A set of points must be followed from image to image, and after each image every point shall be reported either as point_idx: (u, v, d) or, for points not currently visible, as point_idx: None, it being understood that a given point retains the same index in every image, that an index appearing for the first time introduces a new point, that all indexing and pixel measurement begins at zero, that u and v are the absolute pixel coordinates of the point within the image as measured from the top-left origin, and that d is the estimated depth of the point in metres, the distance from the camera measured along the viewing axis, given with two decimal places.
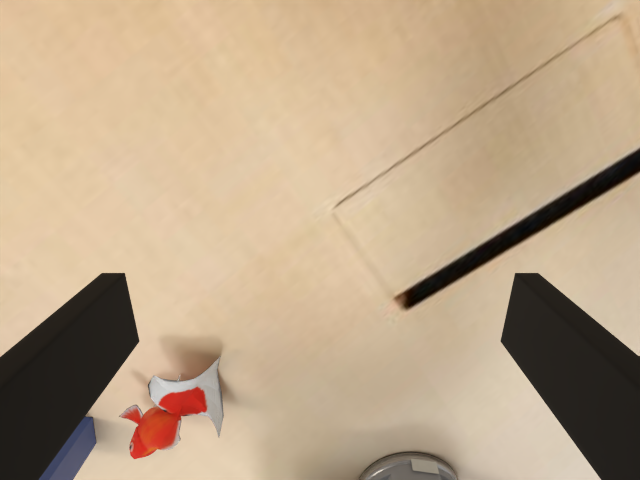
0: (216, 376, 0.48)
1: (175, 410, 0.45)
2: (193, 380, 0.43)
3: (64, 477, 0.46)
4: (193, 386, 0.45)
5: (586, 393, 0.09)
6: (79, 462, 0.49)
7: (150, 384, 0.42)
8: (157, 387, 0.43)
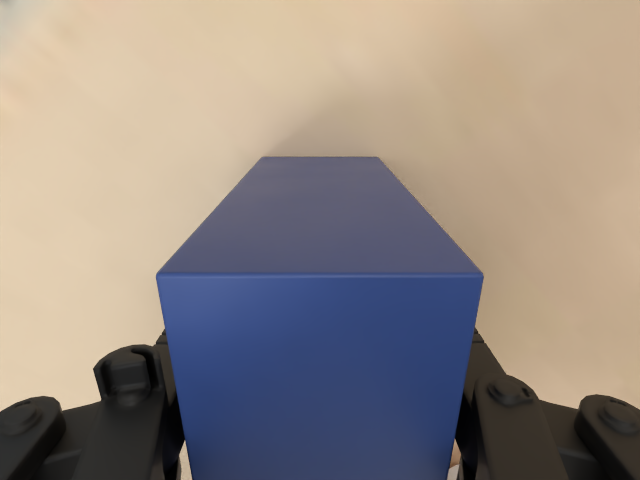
0: None
1: None
2: None
3: None
4: None
5: None
6: None
7: None
8: None
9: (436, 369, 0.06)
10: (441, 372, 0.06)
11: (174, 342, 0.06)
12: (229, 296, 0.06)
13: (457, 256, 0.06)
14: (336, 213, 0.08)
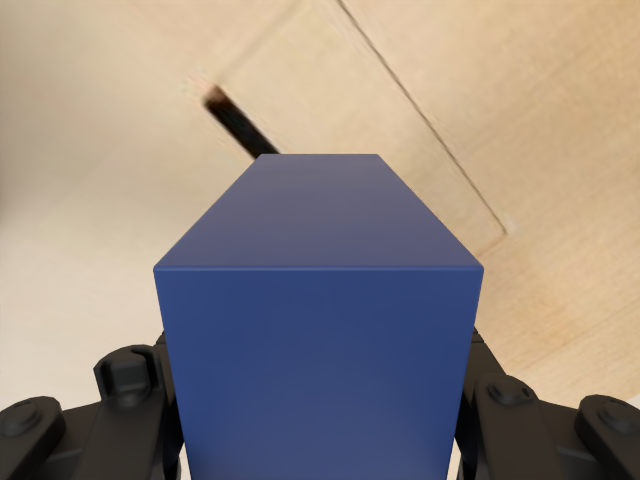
0: None
1: None
2: None
3: None
4: None
5: None
6: None
7: None
8: None
9: (436, 364, 0.06)
10: (441, 367, 0.06)
11: (172, 336, 0.06)
12: (227, 290, 0.06)
13: (457, 250, 0.06)
14: (335, 208, 0.08)
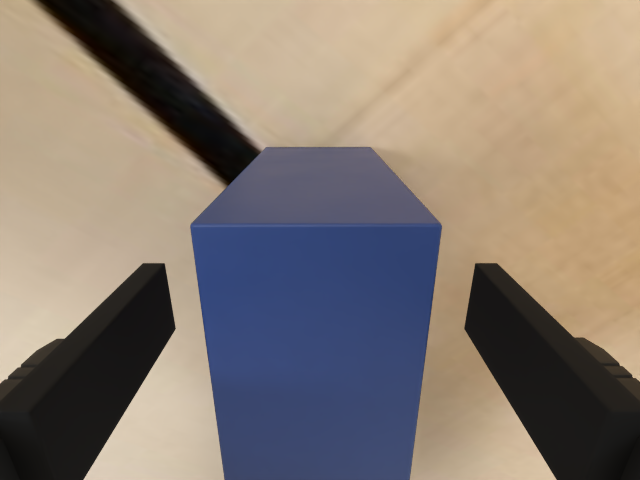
0: None
1: None
2: None
3: None
4: None
5: (527, 371, 0.10)
6: None
7: None
8: None
9: (407, 303, 0.08)
10: (411, 305, 0.08)
11: (203, 280, 0.08)
12: (246, 242, 0.07)
13: (424, 214, 0.08)
14: (330, 187, 0.10)
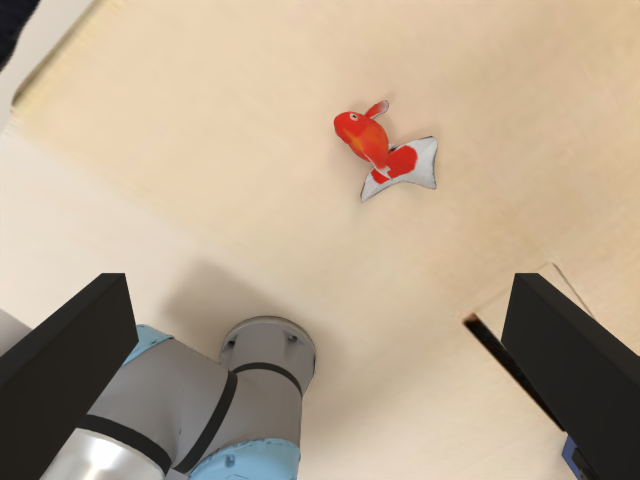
0: (397, 182, 0.50)
1: (390, 158, 0.45)
2: (428, 176, 0.45)
3: None
4: (414, 172, 0.46)
5: (585, 393, 0.09)
6: None
7: (430, 138, 0.43)
8: (427, 144, 0.43)
9: None
10: None
11: None
12: None
13: None
14: None
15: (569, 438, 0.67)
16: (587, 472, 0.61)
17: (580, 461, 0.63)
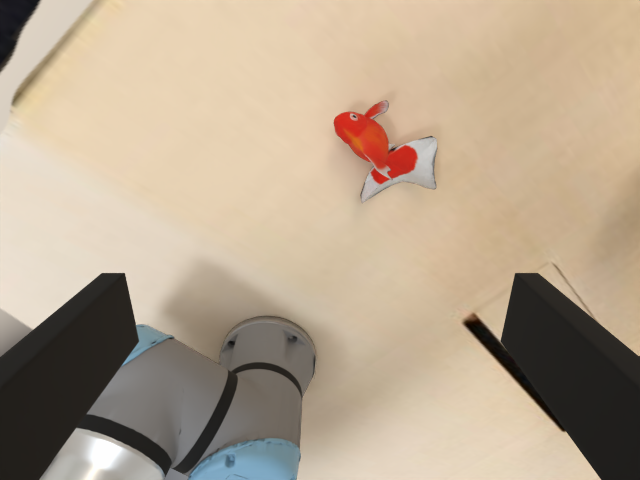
0: (397, 182, 0.50)
1: (390, 158, 0.45)
2: (428, 176, 0.45)
3: None
4: (414, 172, 0.46)
5: (585, 393, 0.09)
6: None
7: (430, 138, 0.43)
8: (427, 144, 0.43)
9: None
10: None
11: None
12: None
13: None
14: None
15: None
16: None
17: None
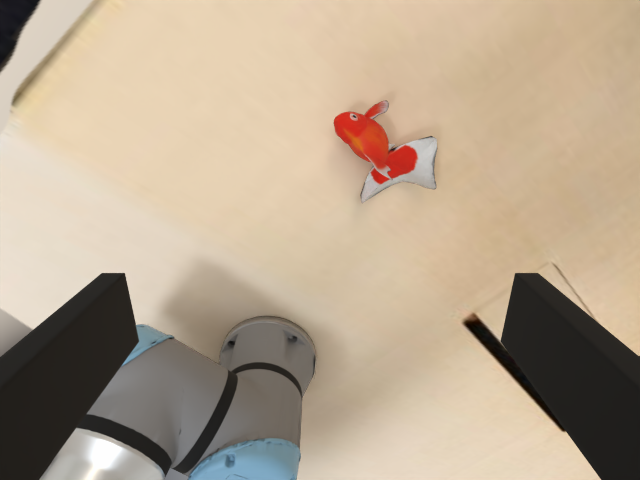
0: (397, 182, 0.50)
1: (390, 158, 0.45)
2: (428, 176, 0.45)
3: None
4: (414, 172, 0.46)
5: (585, 393, 0.09)
6: None
7: (430, 138, 0.43)
8: (427, 144, 0.43)
9: None
10: None
11: None
12: None
13: None
14: None
15: None
16: None
17: None
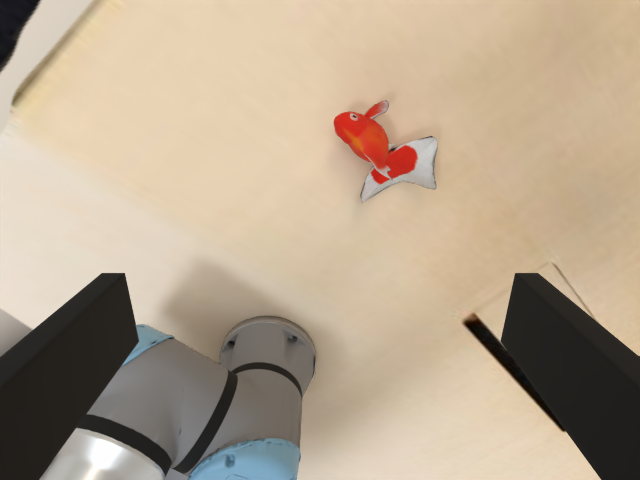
0: (397, 182, 0.50)
1: (390, 158, 0.45)
2: (428, 176, 0.45)
3: None
4: (414, 172, 0.46)
5: (585, 393, 0.09)
6: None
7: (430, 138, 0.43)
8: (427, 144, 0.43)
9: None
10: None
11: None
12: None
13: None
14: None
15: None
16: None
17: None
